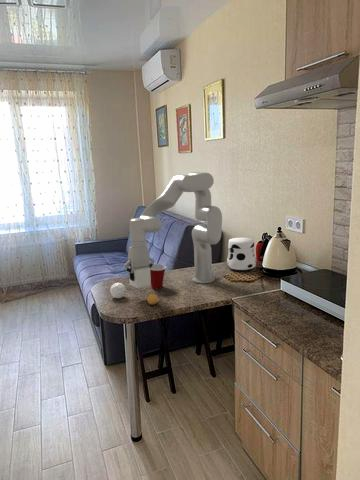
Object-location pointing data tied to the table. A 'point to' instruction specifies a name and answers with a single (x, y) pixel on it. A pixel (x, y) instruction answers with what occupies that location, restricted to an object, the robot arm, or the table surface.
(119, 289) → the geometric ball
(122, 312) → the table surface
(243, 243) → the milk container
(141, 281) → the white angular block
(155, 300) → the ball
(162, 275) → the plastic cup
